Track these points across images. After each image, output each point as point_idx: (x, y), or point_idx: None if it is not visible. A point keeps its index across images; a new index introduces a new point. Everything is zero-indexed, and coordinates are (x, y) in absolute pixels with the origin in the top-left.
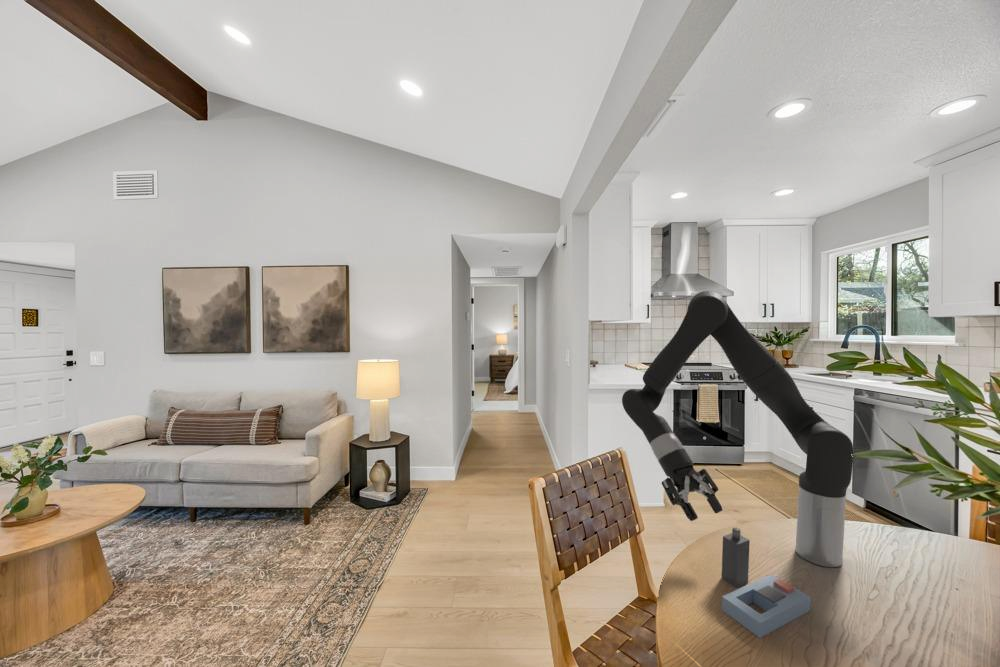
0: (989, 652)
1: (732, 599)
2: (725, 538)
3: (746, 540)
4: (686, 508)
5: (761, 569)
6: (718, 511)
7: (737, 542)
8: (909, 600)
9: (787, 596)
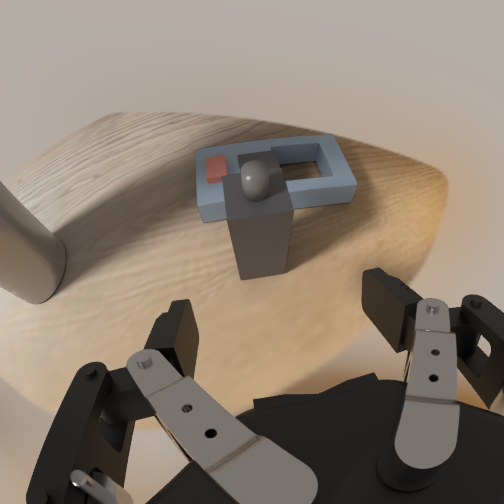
0: (104, 117)
1: (344, 173)
2: (291, 203)
3: (234, 175)
4: (417, 297)
5: (163, 274)
6: (193, 313)
7: (273, 174)
8: (66, 170)
9: (233, 156)
